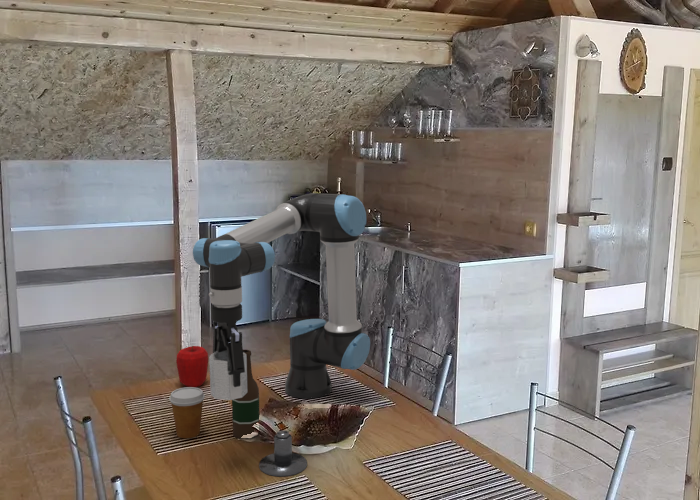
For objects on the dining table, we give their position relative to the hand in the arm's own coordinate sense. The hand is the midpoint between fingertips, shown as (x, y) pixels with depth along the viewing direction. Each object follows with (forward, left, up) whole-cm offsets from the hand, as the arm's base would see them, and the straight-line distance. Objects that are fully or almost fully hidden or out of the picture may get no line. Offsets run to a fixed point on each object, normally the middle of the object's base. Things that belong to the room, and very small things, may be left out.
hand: (229, 391), depth 176 cm
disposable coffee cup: (+4, -22, -19) cm, 29 cm away
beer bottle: (-10, -14, -19) cm, 26 cm away
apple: (-9, -58, -19) cm, 62 cm away
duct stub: (-11, +8, -19) cm, 23 cm away
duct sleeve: (0, 0, 0) cm, 0 cm away
